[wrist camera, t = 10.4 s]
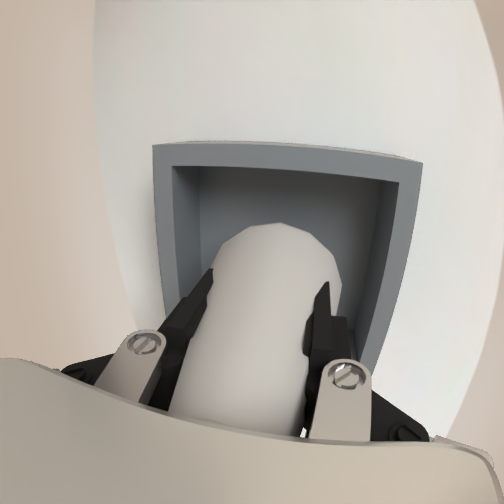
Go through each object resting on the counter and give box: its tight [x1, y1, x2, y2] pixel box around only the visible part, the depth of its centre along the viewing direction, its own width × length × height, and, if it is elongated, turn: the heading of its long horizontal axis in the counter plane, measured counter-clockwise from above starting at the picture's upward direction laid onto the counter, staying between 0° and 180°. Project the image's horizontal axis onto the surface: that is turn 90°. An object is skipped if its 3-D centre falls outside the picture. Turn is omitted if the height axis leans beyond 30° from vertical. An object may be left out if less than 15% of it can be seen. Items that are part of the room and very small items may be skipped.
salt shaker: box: [168, 222, 342, 437], centre depth 9 cm, size 6×6×13 cm
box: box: [152, 141, 423, 376], centre depth 16 cm, size 12×12×4 cm
